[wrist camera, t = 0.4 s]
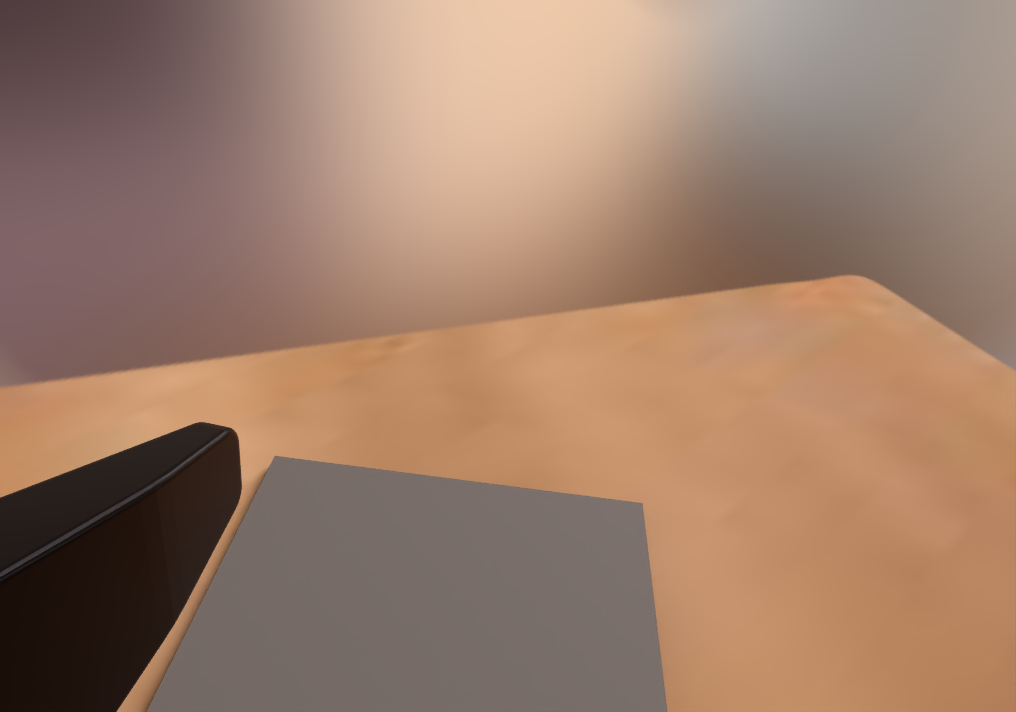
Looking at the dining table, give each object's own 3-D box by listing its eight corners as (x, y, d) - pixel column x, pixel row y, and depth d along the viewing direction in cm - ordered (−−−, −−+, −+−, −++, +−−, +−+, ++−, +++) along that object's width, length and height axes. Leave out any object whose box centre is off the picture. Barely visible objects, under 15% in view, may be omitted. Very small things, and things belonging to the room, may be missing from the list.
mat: (693, 988, 18) (699, 981, 17) (58, 909, 18) (51, 900, 17) (639, 512, 31) (642, 503, 31) (275, 466, 31) (274, 455, 30)
